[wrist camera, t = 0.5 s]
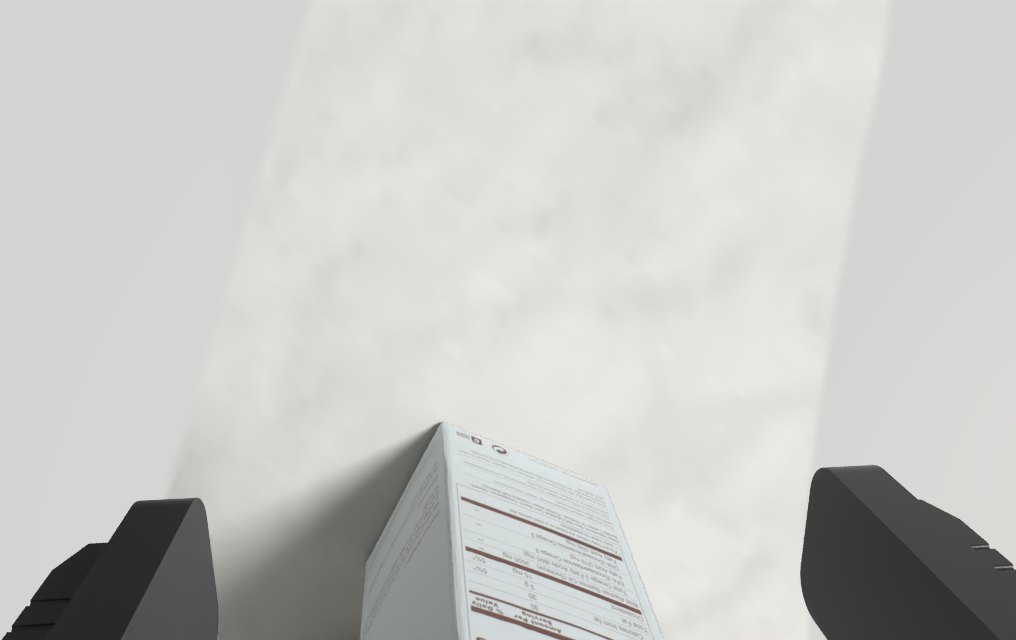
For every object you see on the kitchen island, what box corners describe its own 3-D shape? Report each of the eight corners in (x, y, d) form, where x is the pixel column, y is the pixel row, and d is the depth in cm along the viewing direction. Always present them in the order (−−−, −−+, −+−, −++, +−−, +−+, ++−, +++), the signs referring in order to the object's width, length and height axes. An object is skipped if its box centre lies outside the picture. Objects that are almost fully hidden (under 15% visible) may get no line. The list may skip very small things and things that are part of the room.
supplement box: (524, 618, 34) (577, 942, 23) (360, 561, 32) (327, 882, 21) (612, 481, 32) (721, 761, 21) (442, 411, 30) (457, 676, 19)
